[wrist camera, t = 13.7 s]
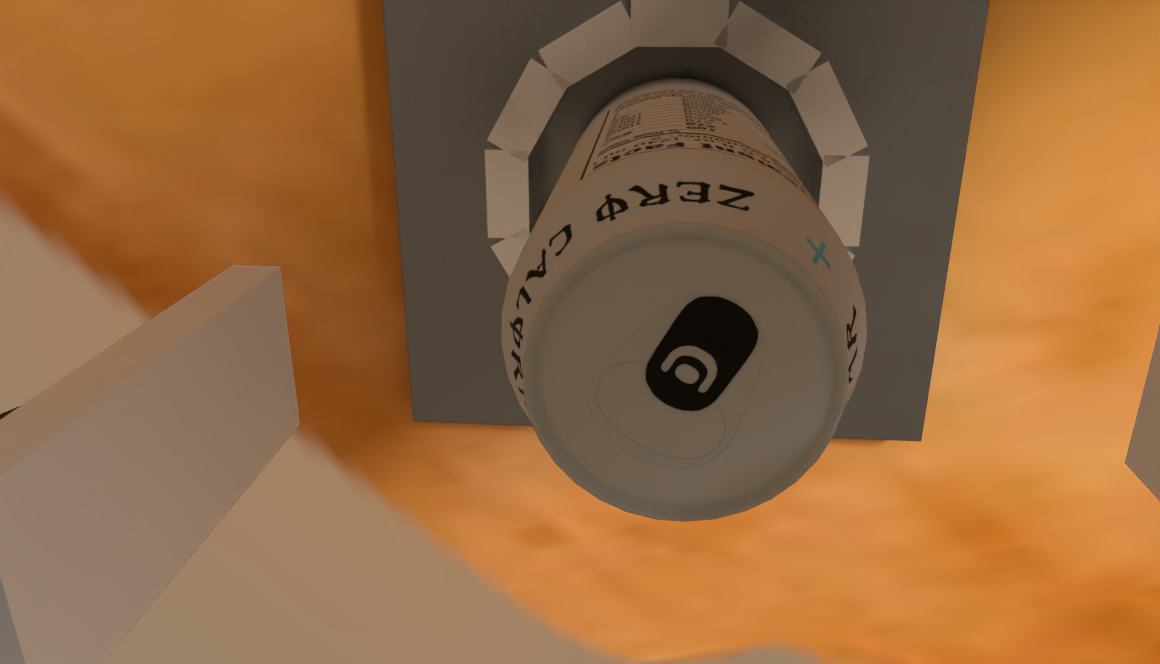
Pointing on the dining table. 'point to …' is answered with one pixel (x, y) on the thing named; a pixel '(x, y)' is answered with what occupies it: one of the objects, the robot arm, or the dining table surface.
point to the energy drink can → (682, 310)
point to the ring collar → (690, 51)
